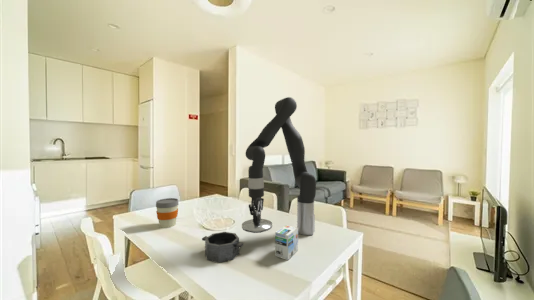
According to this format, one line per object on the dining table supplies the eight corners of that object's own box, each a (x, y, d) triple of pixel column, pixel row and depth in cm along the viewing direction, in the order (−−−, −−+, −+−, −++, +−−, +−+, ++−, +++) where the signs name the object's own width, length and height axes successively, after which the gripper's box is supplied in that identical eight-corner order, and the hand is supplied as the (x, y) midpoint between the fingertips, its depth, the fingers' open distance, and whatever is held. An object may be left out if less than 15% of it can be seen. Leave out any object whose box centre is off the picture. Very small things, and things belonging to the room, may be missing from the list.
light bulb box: (288, 260, 94) (288, 235, 94) (274, 256, 98) (274, 232, 98) (298, 250, 104) (298, 227, 103) (285, 246, 107) (285, 224, 107)
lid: (275, 224, 115) (275, 208, 115) (267, 236, 101) (267, 218, 101) (248, 222, 120) (248, 206, 119) (237, 233, 105) (236, 215, 105)
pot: (249, 250, 103) (249, 235, 103) (234, 266, 90) (233, 249, 90) (212, 243, 110) (212, 229, 110) (193, 257, 97) (193, 241, 97)
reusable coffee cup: (169, 220, 144) (168, 197, 143) (183, 223, 138) (183, 199, 138) (151, 227, 132) (150, 201, 132) (166, 230, 127) (165, 204, 126)
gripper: (257, 190, 101) (258, 227, 102) (268, 184, 115) (269, 217, 115) (242, 189, 104) (243, 225, 105) (254, 183, 117) (255, 216, 118)
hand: (257, 221), depth 110 cm, fingers closed on lid, 3 cm apart
